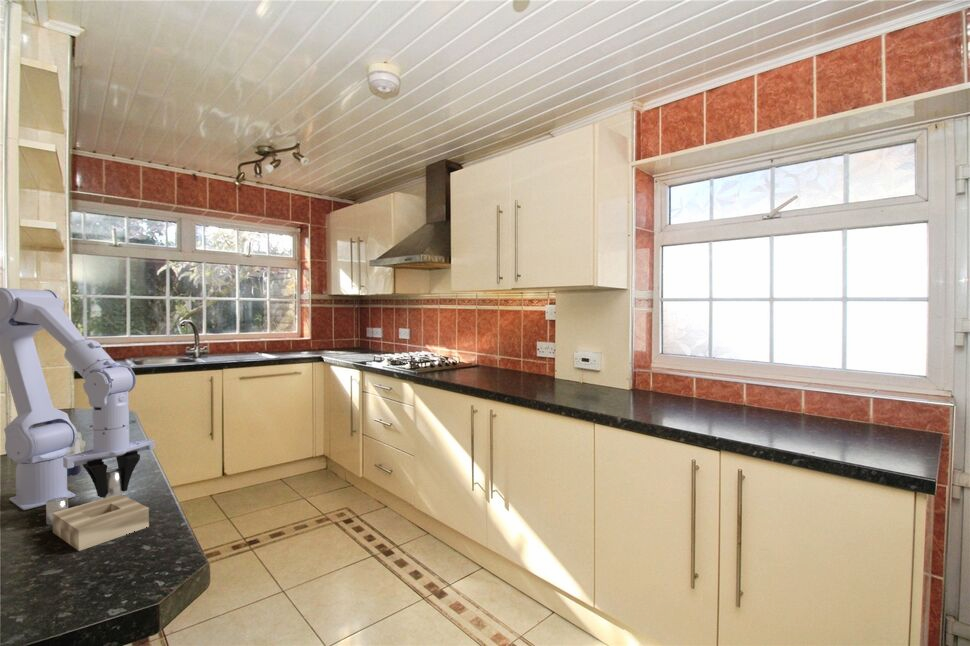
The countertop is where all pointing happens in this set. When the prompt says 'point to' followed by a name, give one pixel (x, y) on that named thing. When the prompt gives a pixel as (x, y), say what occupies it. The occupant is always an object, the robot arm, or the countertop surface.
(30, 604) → the countertop surface
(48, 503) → the short steel pin
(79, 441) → the white and blue bar
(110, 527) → the birch board
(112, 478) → the long steel pin
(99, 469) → the robot arm
